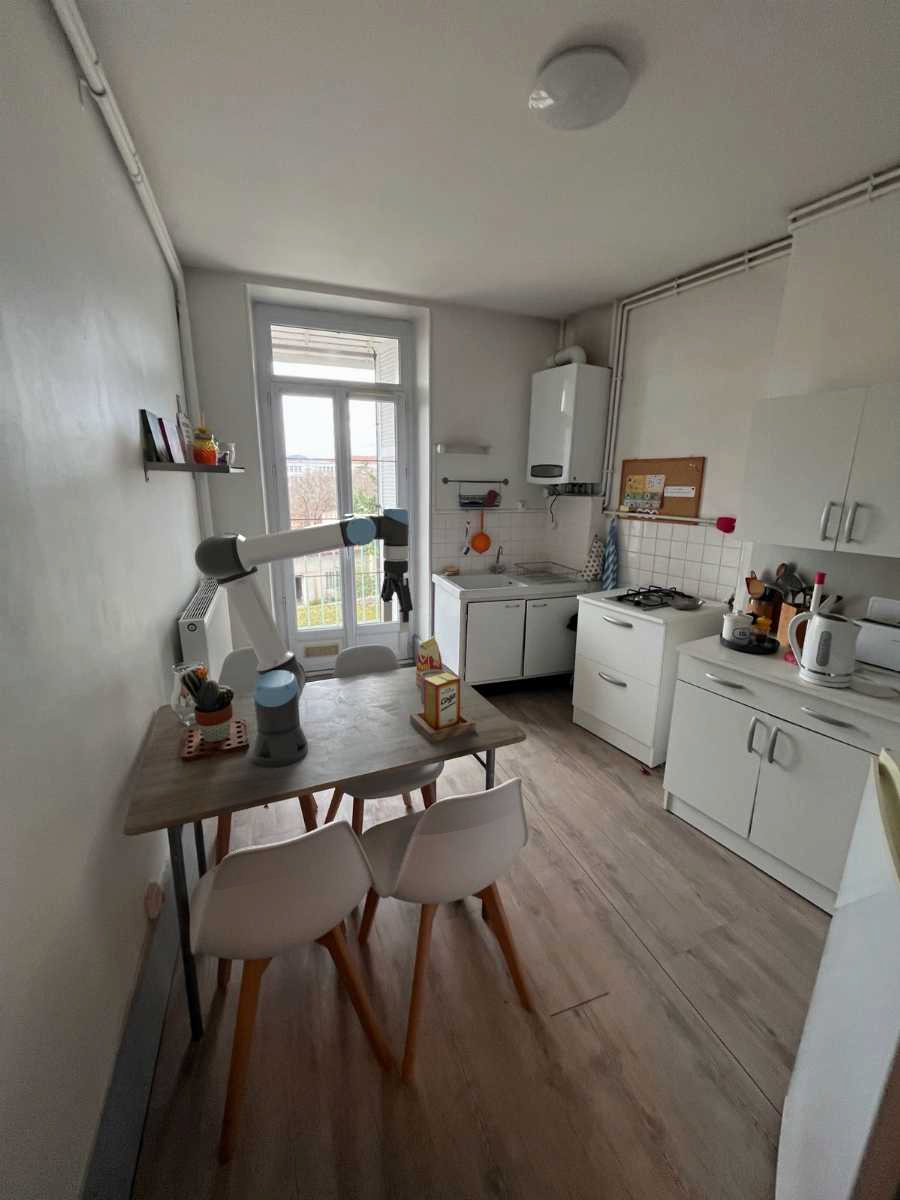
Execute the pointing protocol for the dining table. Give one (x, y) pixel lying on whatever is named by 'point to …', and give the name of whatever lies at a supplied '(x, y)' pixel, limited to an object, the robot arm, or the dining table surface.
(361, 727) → the dining table surface
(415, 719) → the tray
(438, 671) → the coffee mug
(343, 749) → the dining table surface
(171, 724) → the dining table surface
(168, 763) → the dining table surface
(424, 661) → the milk carton
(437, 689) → the baking soda box
